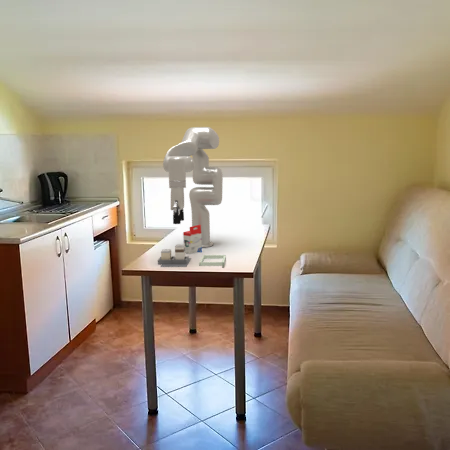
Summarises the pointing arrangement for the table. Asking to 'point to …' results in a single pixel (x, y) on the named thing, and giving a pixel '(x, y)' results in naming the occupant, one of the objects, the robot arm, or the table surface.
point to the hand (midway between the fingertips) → (178, 222)
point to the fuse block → (172, 260)
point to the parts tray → (213, 262)
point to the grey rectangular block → (180, 252)
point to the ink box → (193, 240)
